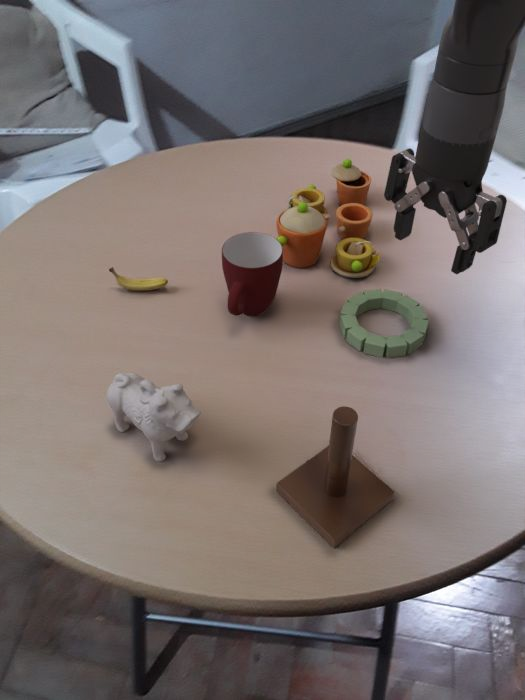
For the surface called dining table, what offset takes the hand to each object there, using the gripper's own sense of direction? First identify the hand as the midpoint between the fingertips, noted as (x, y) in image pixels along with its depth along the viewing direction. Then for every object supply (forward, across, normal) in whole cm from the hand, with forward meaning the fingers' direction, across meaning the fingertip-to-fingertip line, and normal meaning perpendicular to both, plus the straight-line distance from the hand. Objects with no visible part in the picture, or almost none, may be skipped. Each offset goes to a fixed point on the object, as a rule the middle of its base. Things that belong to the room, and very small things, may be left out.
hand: (429, 253), depth 80 cm
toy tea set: (+15, +26, -10) cm, 31 cm away
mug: (+15, +18, +12) cm, 27 cm away
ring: (+15, +5, 0) cm, 16 cm away
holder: (+15, -10, +24) cm, 30 cm away
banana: (+16, +32, +21) cm, 42 cm away
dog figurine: (+16, +8, +34) cm, 39 cm away
